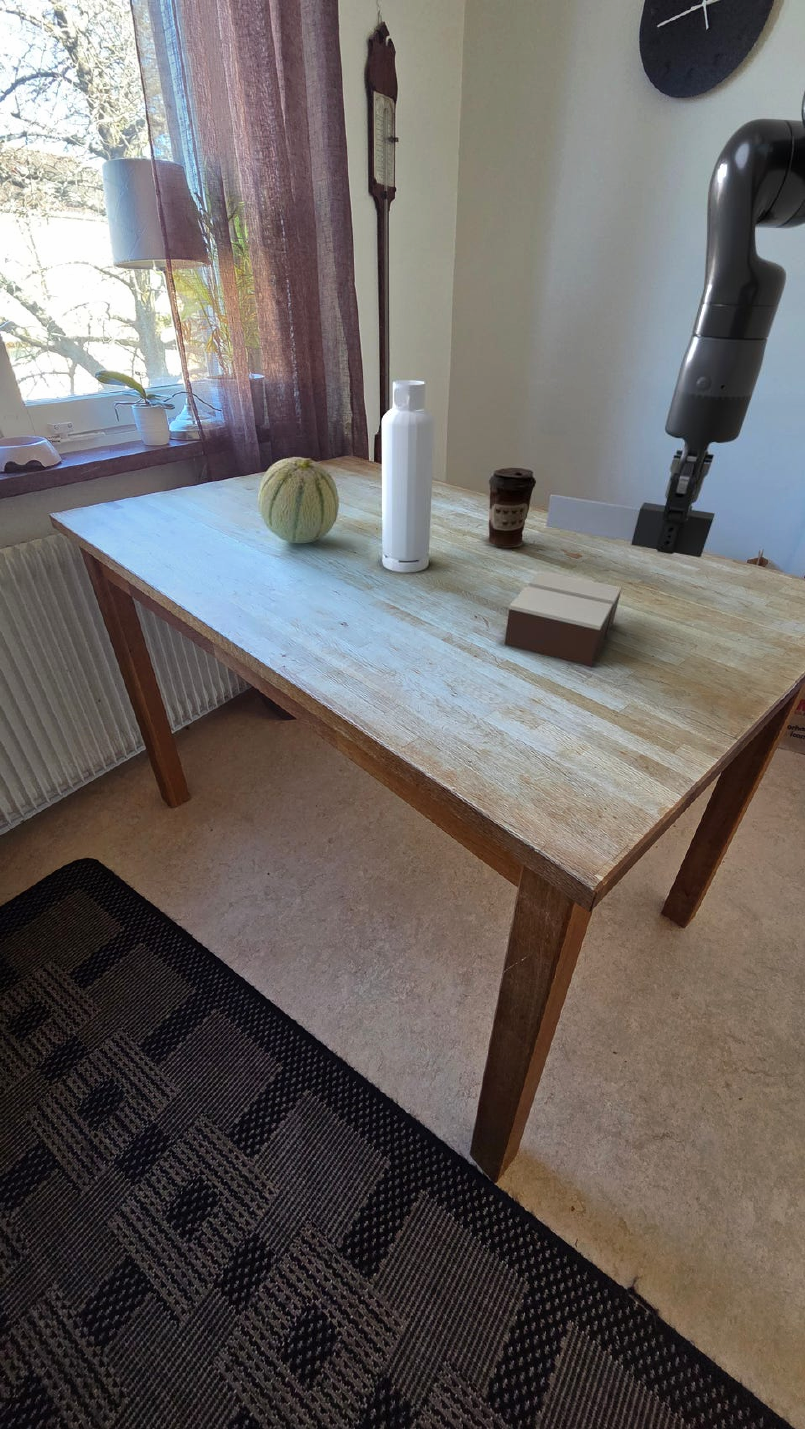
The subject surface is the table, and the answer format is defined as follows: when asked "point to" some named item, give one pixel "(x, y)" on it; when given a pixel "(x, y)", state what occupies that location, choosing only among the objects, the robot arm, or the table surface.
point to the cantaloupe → (298, 500)
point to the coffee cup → (509, 505)
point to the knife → (627, 523)
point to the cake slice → (579, 590)
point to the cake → (557, 625)
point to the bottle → (407, 478)
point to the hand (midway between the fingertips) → (667, 547)
